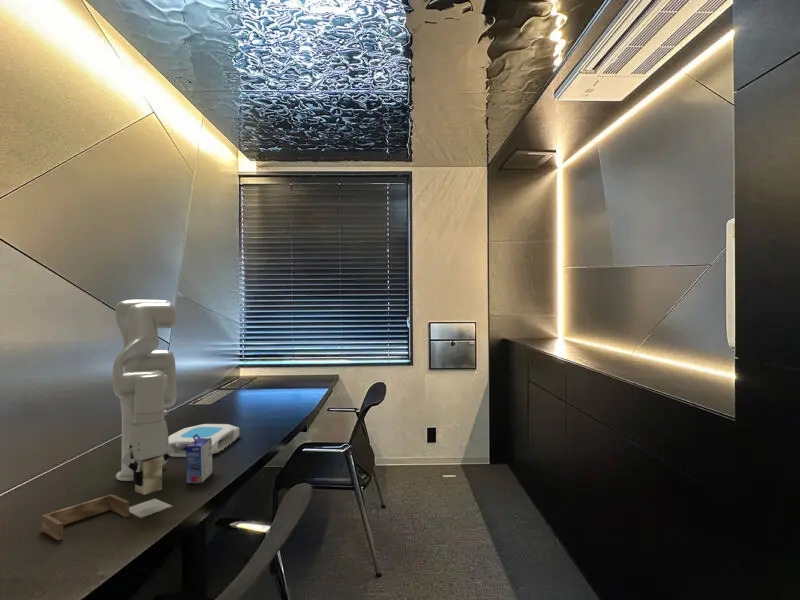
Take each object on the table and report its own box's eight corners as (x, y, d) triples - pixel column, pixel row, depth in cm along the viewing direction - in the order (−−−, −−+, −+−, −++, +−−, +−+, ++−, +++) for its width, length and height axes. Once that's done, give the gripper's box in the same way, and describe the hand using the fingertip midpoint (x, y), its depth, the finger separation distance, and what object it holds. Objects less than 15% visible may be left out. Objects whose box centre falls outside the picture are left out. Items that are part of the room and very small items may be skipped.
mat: (154, 499, 143) (154, 498, 143) (172, 506, 138) (172, 505, 138) (123, 510, 135) (123, 509, 135) (140, 518, 130) (140, 516, 130)
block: (152, 485, 140) (152, 454, 140) (161, 489, 137) (162, 457, 137) (134, 491, 136) (135, 459, 136) (144, 494, 133) (144, 462, 133)
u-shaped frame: (111, 508, 137) (111, 493, 137) (129, 516, 132) (129, 501, 132) (41, 531, 123) (42, 515, 123) (58, 541, 117) (58, 524, 118)
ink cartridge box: (196, 473, 166) (197, 431, 166) (212, 473, 166) (213, 431, 167) (184, 483, 156) (185, 438, 156) (202, 483, 156) (202, 438, 157)
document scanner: (158, 457, 185) (158, 440, 185) (193, 437, 213) (193, 423, 213) (212, 458, 184) (212, 441, 184) (239, 438, 212) (240, 424, 212)
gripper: (169, 411, 146) (169, 471, 146) (111, 421, 132) (110, 488, 131) (184, 413, 142) (183, 475, 142) (125, 425, 128) (124, 494, 127)
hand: (148, 481), depth 137 cm, fingers closed on block, 5 cm apart
